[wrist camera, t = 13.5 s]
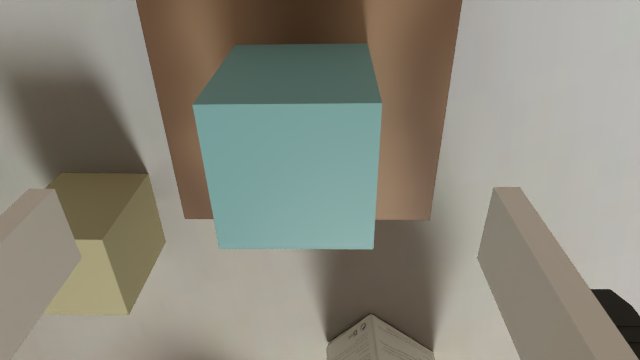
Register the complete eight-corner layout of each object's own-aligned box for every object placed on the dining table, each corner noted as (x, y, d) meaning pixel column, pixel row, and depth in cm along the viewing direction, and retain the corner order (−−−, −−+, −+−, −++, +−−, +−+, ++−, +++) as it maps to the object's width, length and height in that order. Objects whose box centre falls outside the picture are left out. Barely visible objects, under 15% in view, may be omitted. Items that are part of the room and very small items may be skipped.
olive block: (87, 240, 33) (32, 313, 27) (61, 172, 30) (-7, 238, 24) (165, 241, 33) (128, 315, 27) (148, 173, 30) (102, 239, 24)
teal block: (248, 160, 23) (219, 248, 17) (235, 44, 20) (192, 104, 14) (363, 159, 23) (373, 249, 17) (367, 43, 20) (382, 103, 14)
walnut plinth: (206, 173, 29) (184, 218, 25) (163, -65, 22) (123, -57, 18) (415, 174, 29) (429, 220, 25) (444, -69, 22) (471, -62, 17)
